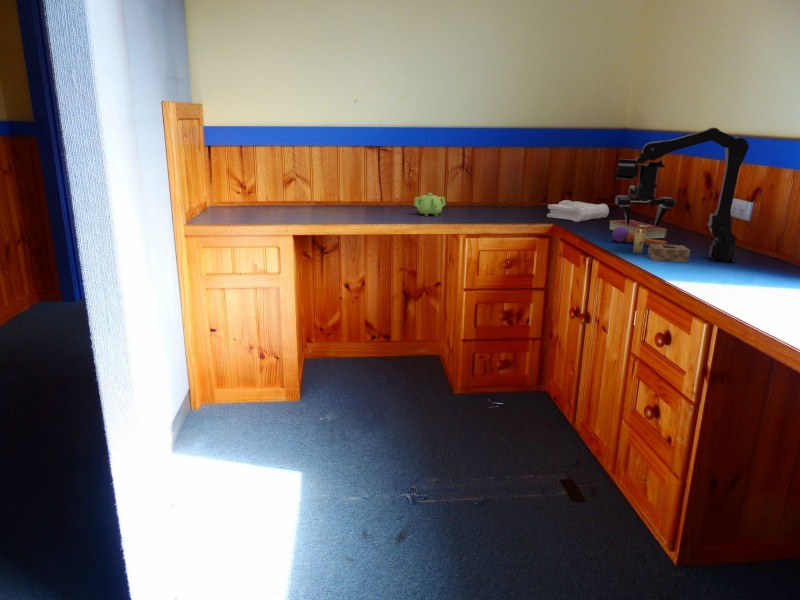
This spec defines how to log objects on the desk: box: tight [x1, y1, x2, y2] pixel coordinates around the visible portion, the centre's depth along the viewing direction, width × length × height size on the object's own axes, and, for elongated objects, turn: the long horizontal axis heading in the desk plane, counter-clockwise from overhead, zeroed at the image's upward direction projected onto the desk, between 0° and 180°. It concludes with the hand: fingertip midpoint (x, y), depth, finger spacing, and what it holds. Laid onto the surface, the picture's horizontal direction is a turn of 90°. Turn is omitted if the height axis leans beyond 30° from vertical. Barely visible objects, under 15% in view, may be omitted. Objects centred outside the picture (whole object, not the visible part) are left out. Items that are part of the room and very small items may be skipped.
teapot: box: [413, 192, 446, 217], centre depth 282 cm, size 12×12×10 cm
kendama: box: [611, 227, 668, 246], centre depth 228 cm, size 6×6×20 cm
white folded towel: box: [546, 199, 610, 223], centre depth 288 cm, size 19×28×8 cm
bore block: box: [647, 244, 691, 263], centre depth 207 cm, size 11×8×4 cm
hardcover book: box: [609, 219, 668, 239], centre depth 251 cm, size 12×21×4 cm, turn 17°
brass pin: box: [632, 229, 645, 254], centre depth 215 cm, size 3×3×8 cm
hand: (641, 226), depth 213 cm, fingers open, 9 cm apart
